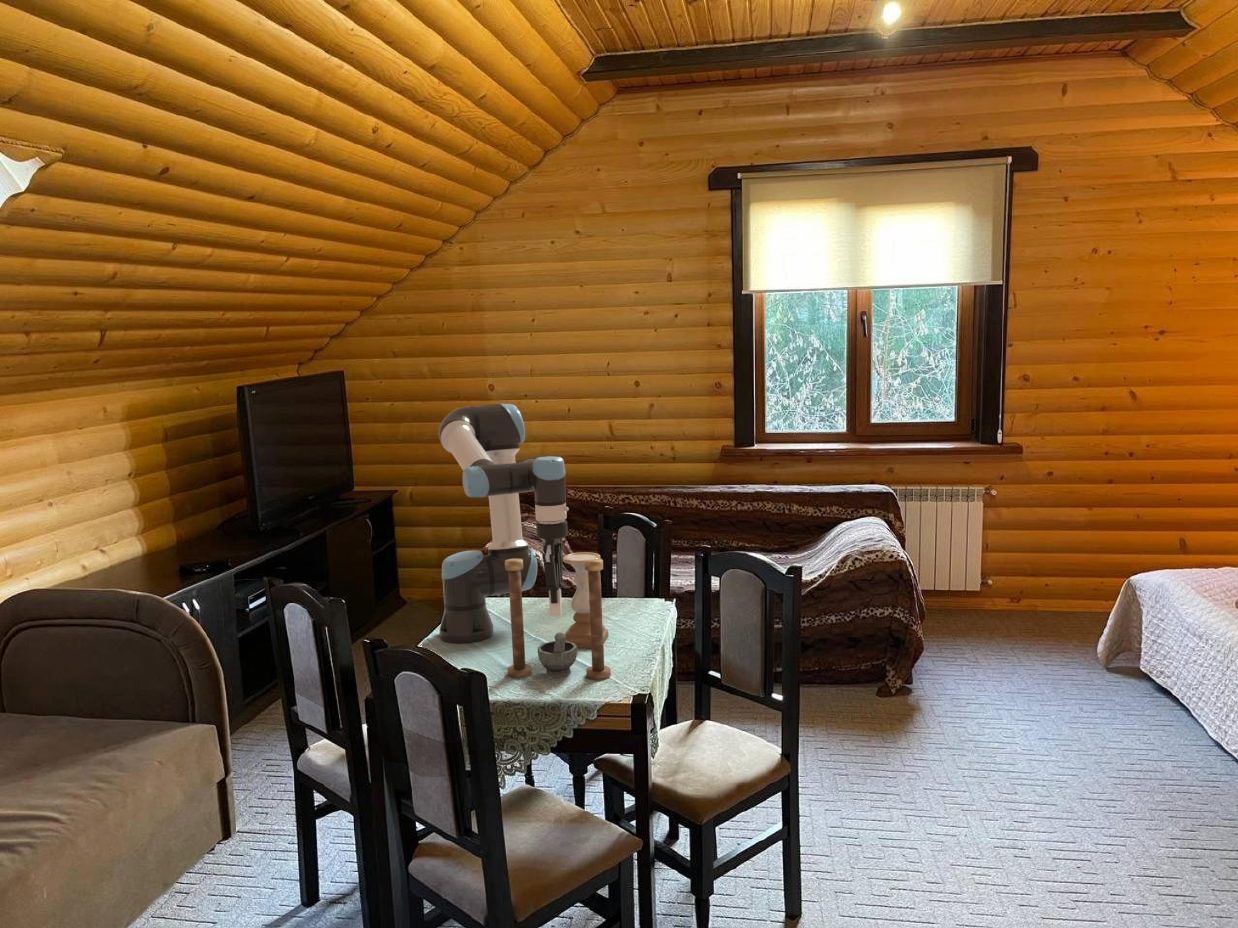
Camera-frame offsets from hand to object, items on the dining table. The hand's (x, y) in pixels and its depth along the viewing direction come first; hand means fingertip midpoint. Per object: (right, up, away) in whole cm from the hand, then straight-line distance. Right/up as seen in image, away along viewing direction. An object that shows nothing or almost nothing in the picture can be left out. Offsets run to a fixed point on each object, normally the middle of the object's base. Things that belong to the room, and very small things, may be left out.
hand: (556, 614), depth 230 cm
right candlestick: (+10, -15, +1) cm, 18 cm away
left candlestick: (-9, -15, +4) cm, 18 cm away
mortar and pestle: (+1, -15, +2) cm, 16 cm away
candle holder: (+6, -12, +26) cm, 30 cm away
